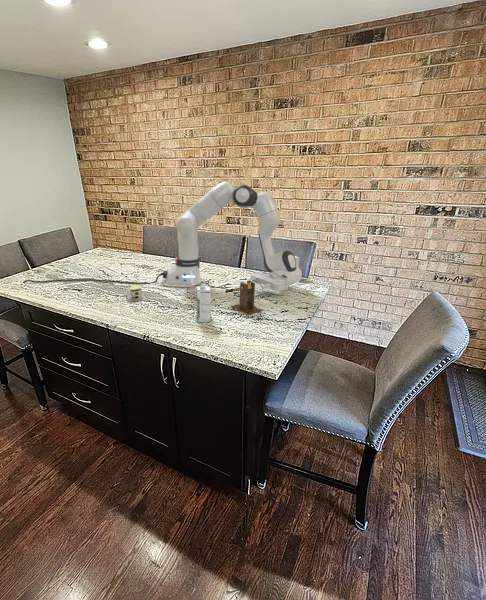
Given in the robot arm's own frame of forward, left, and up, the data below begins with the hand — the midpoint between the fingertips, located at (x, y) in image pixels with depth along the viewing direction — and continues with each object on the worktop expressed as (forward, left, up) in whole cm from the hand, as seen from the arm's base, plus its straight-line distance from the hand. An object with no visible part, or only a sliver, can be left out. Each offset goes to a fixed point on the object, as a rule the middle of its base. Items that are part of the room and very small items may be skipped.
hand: (255, 284), depth 167 cm
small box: (+27, +33, -8) cm, 44 cm away
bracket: (-7, -16, -7) cm, 19 cm away
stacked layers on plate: (-60, +5, -8) cm, 61 cm away
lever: (-9, -12, +1) cm, 15 cm away
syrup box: (-27, -24, -8) cm, 37 cm away
